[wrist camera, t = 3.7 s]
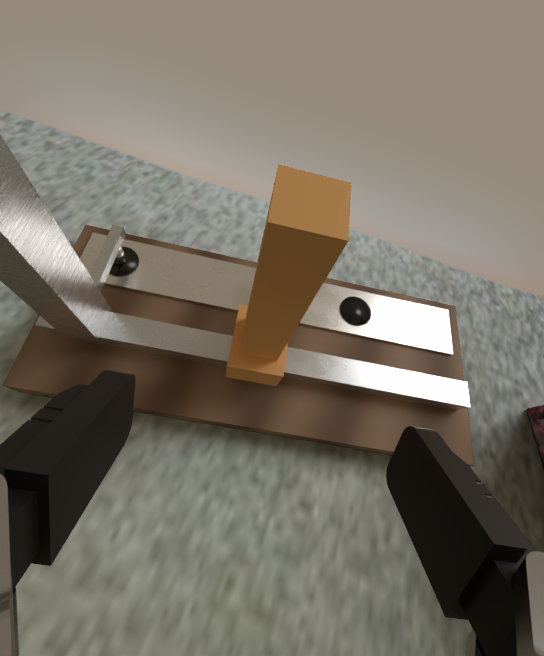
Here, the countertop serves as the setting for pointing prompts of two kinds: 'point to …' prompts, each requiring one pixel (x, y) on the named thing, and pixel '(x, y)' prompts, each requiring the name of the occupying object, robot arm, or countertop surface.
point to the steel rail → (148, 335)
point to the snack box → (538, 426)
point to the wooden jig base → (244, 396)
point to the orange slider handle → (288, 270)
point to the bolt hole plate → (236, 284)
